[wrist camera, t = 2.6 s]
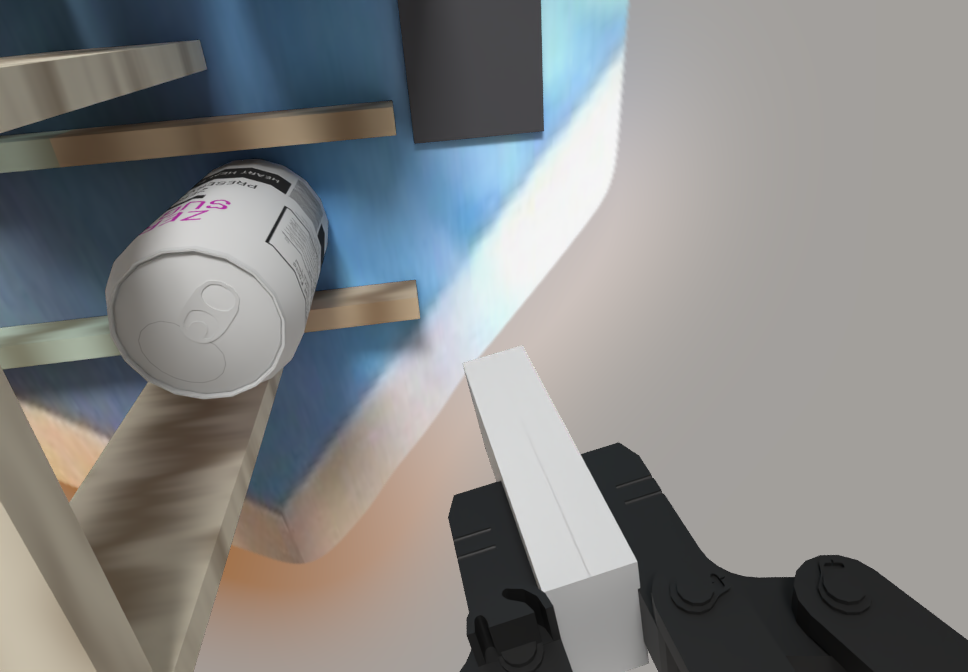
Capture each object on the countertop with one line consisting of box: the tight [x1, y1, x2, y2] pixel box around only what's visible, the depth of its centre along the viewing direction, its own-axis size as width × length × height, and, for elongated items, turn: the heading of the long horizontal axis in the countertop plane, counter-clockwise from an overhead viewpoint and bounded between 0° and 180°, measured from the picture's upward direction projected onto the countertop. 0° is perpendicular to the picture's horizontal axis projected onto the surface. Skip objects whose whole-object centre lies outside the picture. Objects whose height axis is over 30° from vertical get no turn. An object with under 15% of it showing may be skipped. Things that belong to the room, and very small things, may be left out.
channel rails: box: [0, 100, 420, 369], centre depth 37 cm, size 30×13×3 cm, turn 95°
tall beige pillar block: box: [0, 40, 283, 672], centre depth 27 cm, size 8×21×27 cm, turn 5°
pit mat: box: [398, 0, 544, 144], centre depth 37 cm, size 8×8×1 cm
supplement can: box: [105, 159, 328, 399], centre depth 33 cm, size 8×8×15 cm
